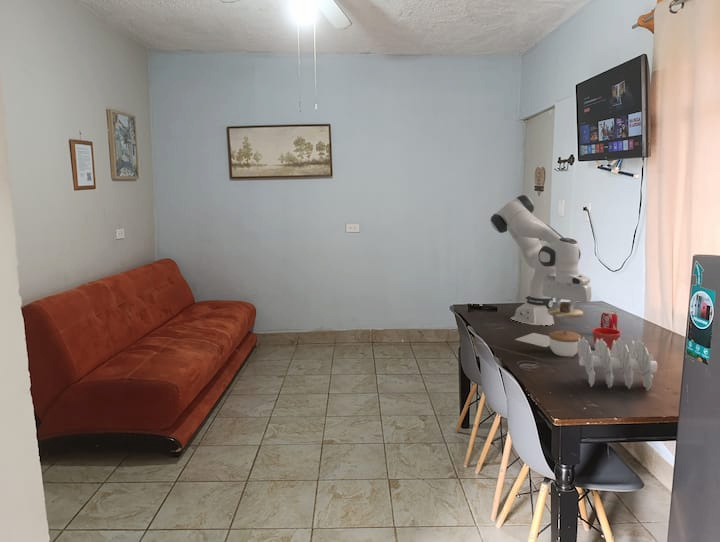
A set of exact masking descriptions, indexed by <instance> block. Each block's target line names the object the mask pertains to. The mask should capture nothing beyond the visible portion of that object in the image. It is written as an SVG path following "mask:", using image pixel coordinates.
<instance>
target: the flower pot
mask: <svg viewBox="0 0 720 542" xmlns="http://www.w3.org/2000/svg"><path fill="white" fill-rule="evenodd" d="M621 334H622V332H621V331H620V330H618V329H617V330H616V329H612V328H601V327H595V328H593V329H592V338H593V344H594V346H595V343H596V339H598V341H599V340H600V339H601V338H603V341H604V342H605V343H606V344H607V348H609V350H612V349H611V348H612V344H613V340H615V342H616V341H617V339H618V338H620V339H621Z"/></svg>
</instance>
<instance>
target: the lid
mask: <svg viewBox="0 0 720 542" xmlns="http://www.w3.org/2000/svg"><path fill="white" fill-rule="evenodd" d="M570 305H571V303H570V302H565V301H563V302H561V303H560V309H558V307H552V308H551V309H548V311H547V313H548V314H550V315H552V316H553V317H558V318H566V319H568V318H570V319H571V318H579V317H583V316H584V311H582V310H580V309H576V308H573V311H568V306H570Z"/></svg>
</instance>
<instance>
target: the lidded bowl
mask: <svg viewBox="0 0 720 542" xmlns="http://www.w3.org/2000/svg"><path fill="white" fill-rule="evenodd" d="M548 336H549V337H550V338H549V342H550V346H549V347H550V349H551V351H552V353H553V354H555V355H556V356H559V357H568V359H572V358H574V356H575V355H577V354H578V350H577V343H578V339H579V338H580V340H581V339H582V336H581V334H580V333H577V332H575V331H574V332H573V331H568V330H565V329H564V330H556V331H552V332H549V334H548ZM571 357H572V358H571Z"/></svg>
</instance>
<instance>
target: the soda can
mask: <svg viewBox="0 0 720 542" xmlns="http://www.w3.org/2000/svg"><path fill="white" fill-rule="evenodd" d="M600 328H612V329H616V330H618V314H617V312H616V311H614V310H603V311H602V314H601V315H600Z"/></svg>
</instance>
